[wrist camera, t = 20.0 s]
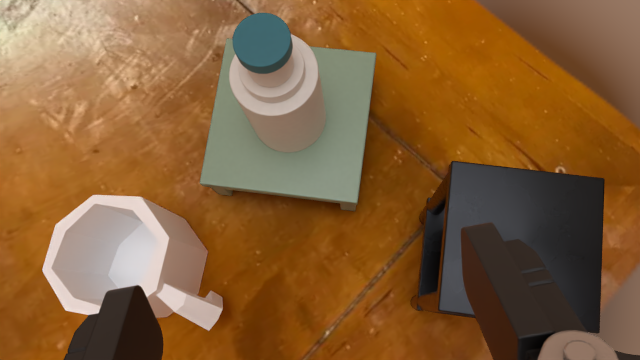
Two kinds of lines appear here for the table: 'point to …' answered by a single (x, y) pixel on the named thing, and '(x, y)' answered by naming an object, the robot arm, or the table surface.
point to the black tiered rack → (514, 232)
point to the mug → (129, 258)
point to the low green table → (305, 165)
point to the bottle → (277, 83)
